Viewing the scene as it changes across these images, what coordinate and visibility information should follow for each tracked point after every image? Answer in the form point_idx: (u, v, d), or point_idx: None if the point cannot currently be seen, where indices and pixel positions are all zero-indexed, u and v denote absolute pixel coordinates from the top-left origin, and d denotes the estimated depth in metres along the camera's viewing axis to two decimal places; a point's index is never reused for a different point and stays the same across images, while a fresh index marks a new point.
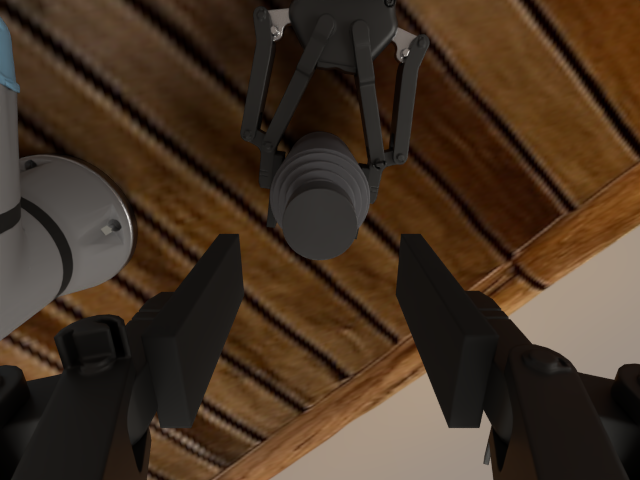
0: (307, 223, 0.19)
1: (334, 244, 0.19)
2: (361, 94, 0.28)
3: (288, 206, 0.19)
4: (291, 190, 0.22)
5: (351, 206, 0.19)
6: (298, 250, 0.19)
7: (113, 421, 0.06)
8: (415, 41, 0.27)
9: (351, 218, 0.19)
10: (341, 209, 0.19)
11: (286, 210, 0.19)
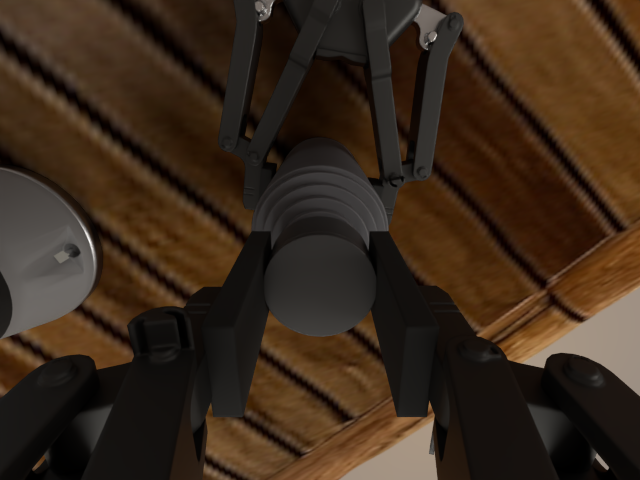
0: (301, 284, 0.12)
1: (341, 314, 0.13)
2: (373, 91, 0.22)
3: (271, 261, 0.12)
4: (280, 226, 0.16)
5: (368, 261, 0.12)
6: (287, 323, 0.13)
7: (180, 411, 0.06)
8: (445, 21, 0.21)
9: (368, 278, 0.12)
10: (353, 265, 0.12)
11: (268, 266, 0.12)
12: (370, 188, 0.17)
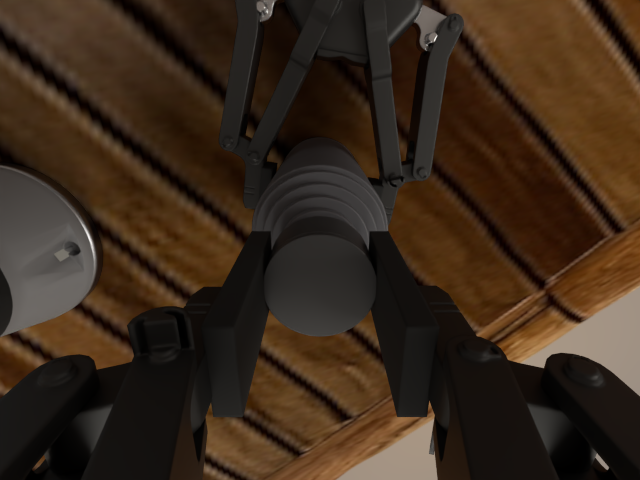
0: (321, 304, 0.13)
1: (343, 260, 0.12)
2: (373, 91, 0.22)
3: (305, 333, 0.13)
4: (280, 225, 0.16)
5: (275, 255, 0.12)
6: (367, 306, 0.13)
7: (180, 411, 0.06)
8: (445, 22, 0.21)
9: (293, 249, 0.12)
10: (285, 267, 0.12)
11: (312, 334, 0.13)
12: (370, 188, 0.17)
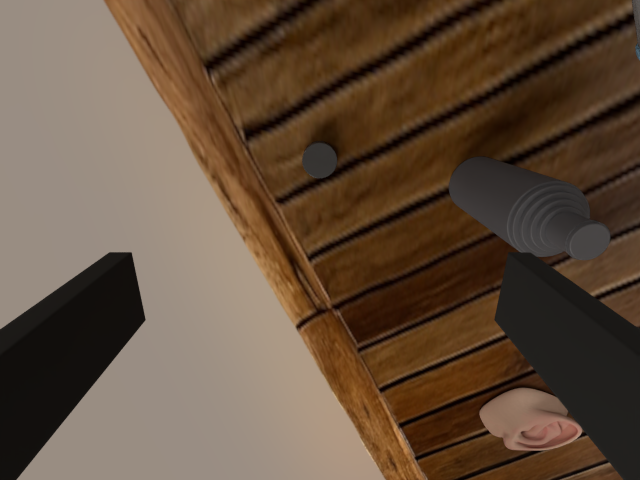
0: (316, 156, 0.41)
1: (319, 172, 0.42)
2: None
3: (314, 144, 0.41)
4: (581, 210, 0.29)
5: (336, 162, 0.41)
6: (304, 164, 0.41)
7: None
8: None
9: (333, 167, 0.41)
10: (332, 160, 0.41)
11: (312, 145, 0.41)
12: None
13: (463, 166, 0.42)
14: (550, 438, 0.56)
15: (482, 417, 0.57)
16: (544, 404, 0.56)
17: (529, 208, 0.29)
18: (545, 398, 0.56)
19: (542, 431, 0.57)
